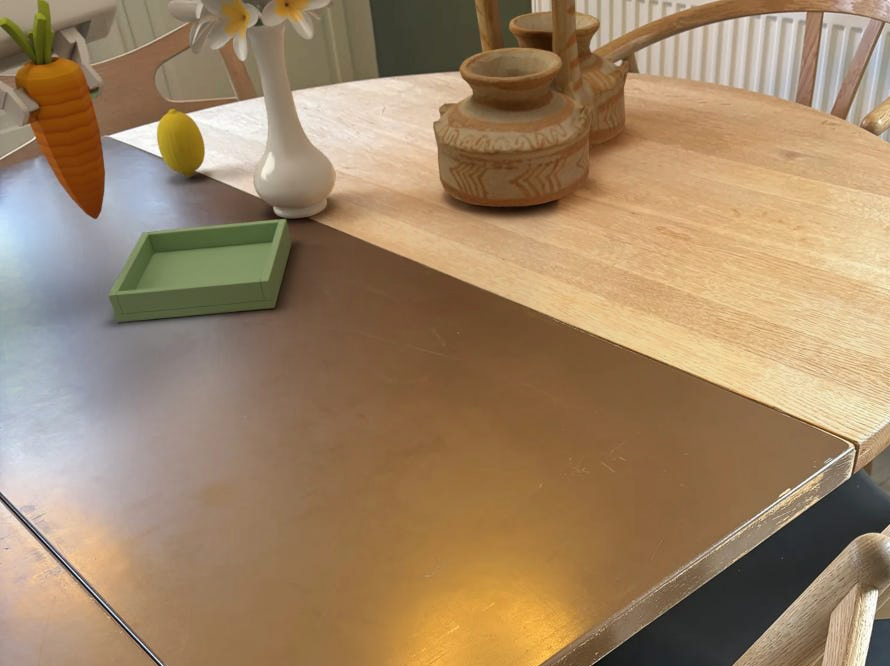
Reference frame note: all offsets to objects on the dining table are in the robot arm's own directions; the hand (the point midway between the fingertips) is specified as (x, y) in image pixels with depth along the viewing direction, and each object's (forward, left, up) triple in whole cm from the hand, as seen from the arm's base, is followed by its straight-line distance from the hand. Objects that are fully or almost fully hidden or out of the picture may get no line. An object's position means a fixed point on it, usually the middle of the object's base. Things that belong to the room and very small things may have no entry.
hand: (63, 106), depth 76 cm
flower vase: (+9, +37, -22) cm, 44 cm away
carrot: (-1, 0, -9) cm, 9 cm away
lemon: (-6, +52, -22) cm, 57 cm away
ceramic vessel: (+38, +45, -22) cm, 63 cm away
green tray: (+2, +19, -22) cm, 29 cm away
